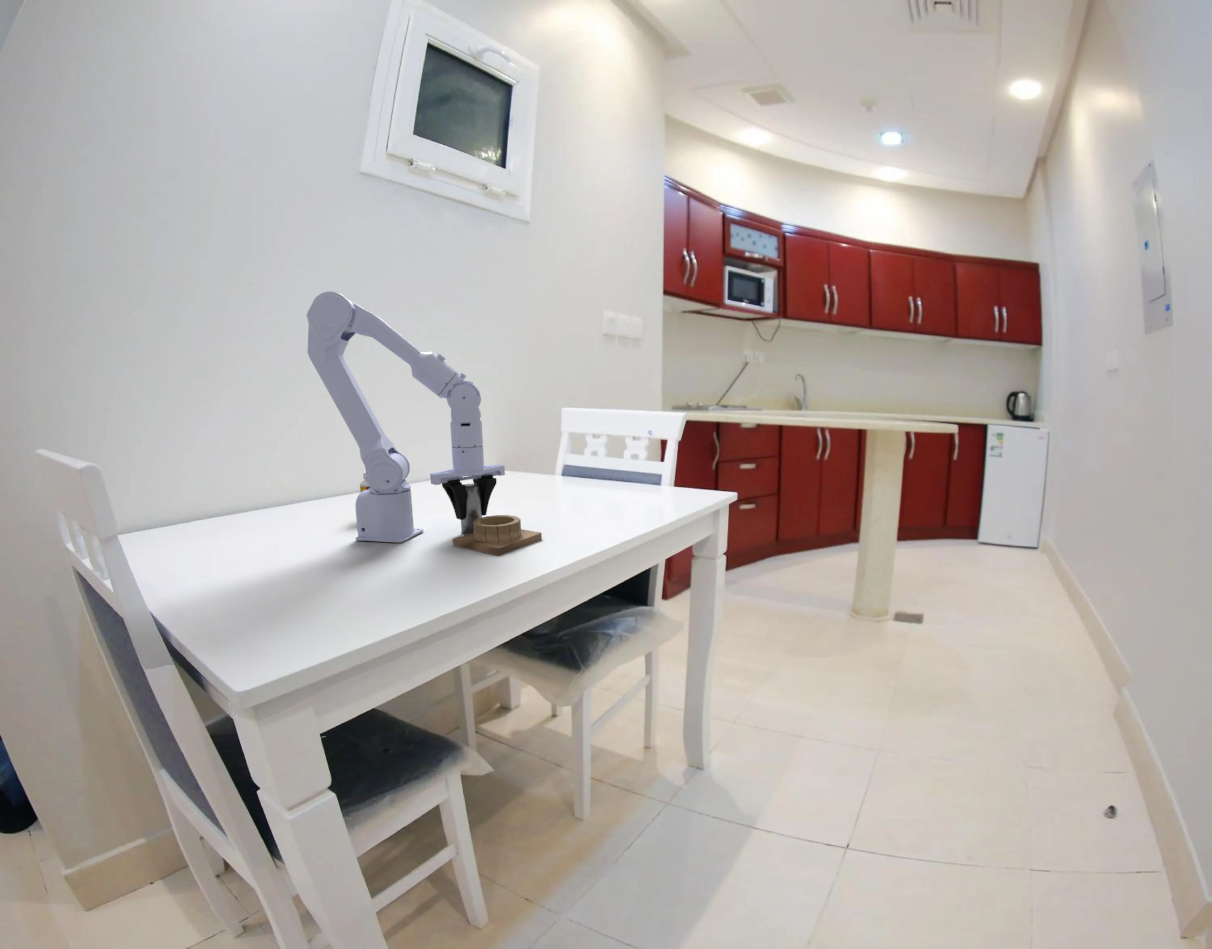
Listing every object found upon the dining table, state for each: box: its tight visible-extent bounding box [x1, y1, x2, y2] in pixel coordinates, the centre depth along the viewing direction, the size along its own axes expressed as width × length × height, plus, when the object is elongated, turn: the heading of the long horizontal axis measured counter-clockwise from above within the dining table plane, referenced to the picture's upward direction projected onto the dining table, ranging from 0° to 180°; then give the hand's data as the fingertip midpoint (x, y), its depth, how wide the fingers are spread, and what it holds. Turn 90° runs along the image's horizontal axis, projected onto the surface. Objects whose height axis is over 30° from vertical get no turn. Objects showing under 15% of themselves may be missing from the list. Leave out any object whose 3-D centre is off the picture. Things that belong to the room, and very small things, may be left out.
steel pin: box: [460, 483, 483, 535], centre depth 107 cm, size 4×4×9 cm
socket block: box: [452, 514, 543, 556], centre depth 100 cm, size 11×11×4 cm
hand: (471, 516), depth 107 cm, fingers closed on steel pin, 4 cm apart
